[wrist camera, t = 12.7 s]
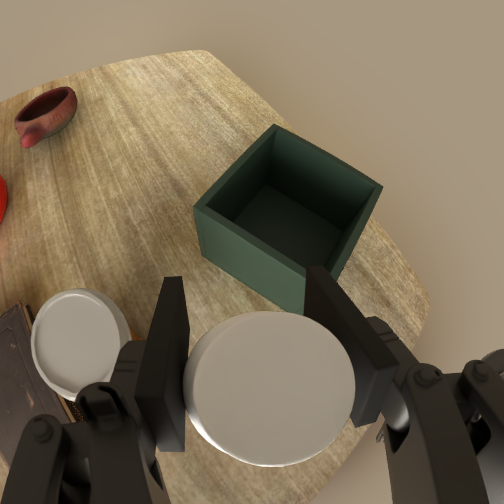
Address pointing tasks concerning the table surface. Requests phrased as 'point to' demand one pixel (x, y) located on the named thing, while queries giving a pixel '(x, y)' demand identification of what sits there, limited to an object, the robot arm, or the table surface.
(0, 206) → the teapot
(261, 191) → the waste bin
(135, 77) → the table surface
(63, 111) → the bowl
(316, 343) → the pill bottle
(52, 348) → the disposable coffee cup
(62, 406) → the hardcover book
